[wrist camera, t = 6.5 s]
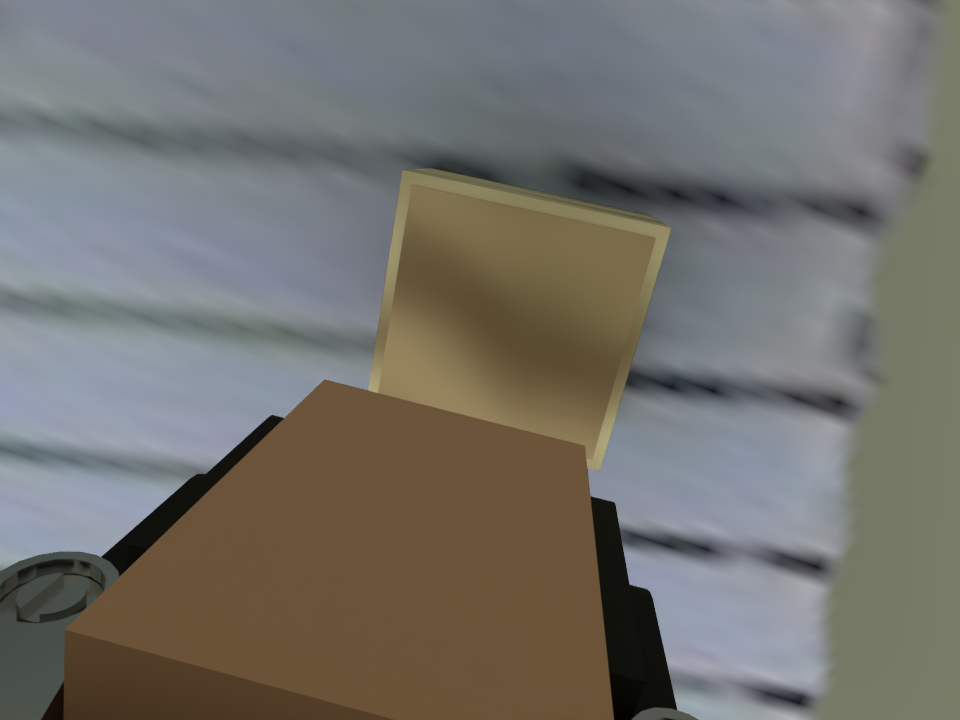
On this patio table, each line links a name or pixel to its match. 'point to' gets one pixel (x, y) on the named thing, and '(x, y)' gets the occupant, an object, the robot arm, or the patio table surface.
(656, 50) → the patio table surface
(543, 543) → the terracotta block
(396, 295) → the tan square tray
